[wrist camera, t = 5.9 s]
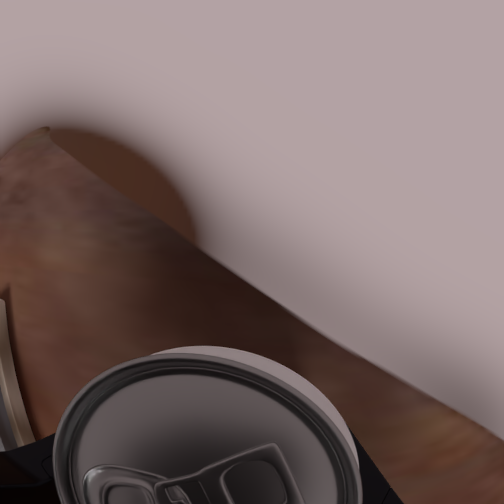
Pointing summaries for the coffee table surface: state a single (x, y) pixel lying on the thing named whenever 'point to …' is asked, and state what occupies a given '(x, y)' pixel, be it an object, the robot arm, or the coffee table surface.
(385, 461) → the coffee table surface
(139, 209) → the coffee table surface
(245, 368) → the can
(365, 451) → the robot arm
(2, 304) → the collar board
